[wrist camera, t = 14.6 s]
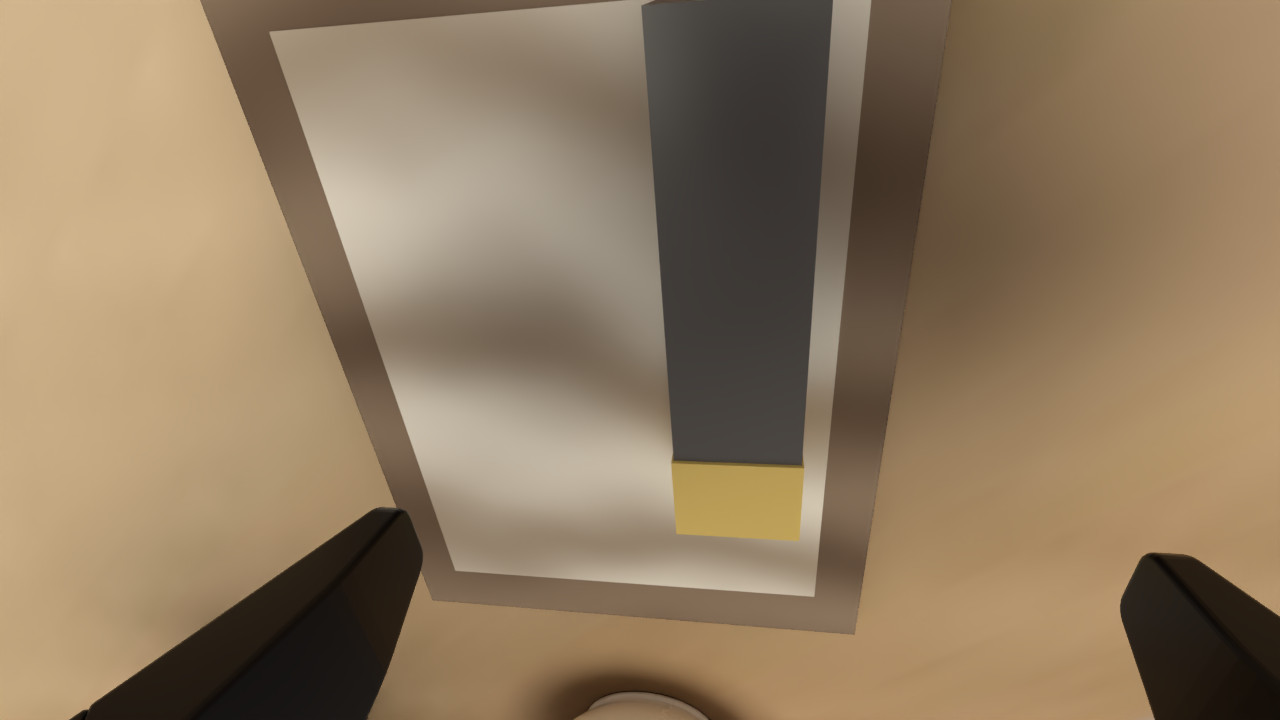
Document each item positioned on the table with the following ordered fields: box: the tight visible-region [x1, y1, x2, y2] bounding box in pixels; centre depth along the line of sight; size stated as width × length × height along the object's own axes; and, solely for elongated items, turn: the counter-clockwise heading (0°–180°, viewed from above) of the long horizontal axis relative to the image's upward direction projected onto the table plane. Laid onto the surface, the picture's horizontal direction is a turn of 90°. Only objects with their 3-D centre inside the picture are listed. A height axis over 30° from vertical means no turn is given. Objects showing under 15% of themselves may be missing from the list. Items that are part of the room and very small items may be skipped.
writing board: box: [200, 0, 952, 635], centre depth 18 cm, size 22×16×1 cm
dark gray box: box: [641, 0, 833, 541], centre depth 14 cm, size 14×3×3 cm, turn 5°
